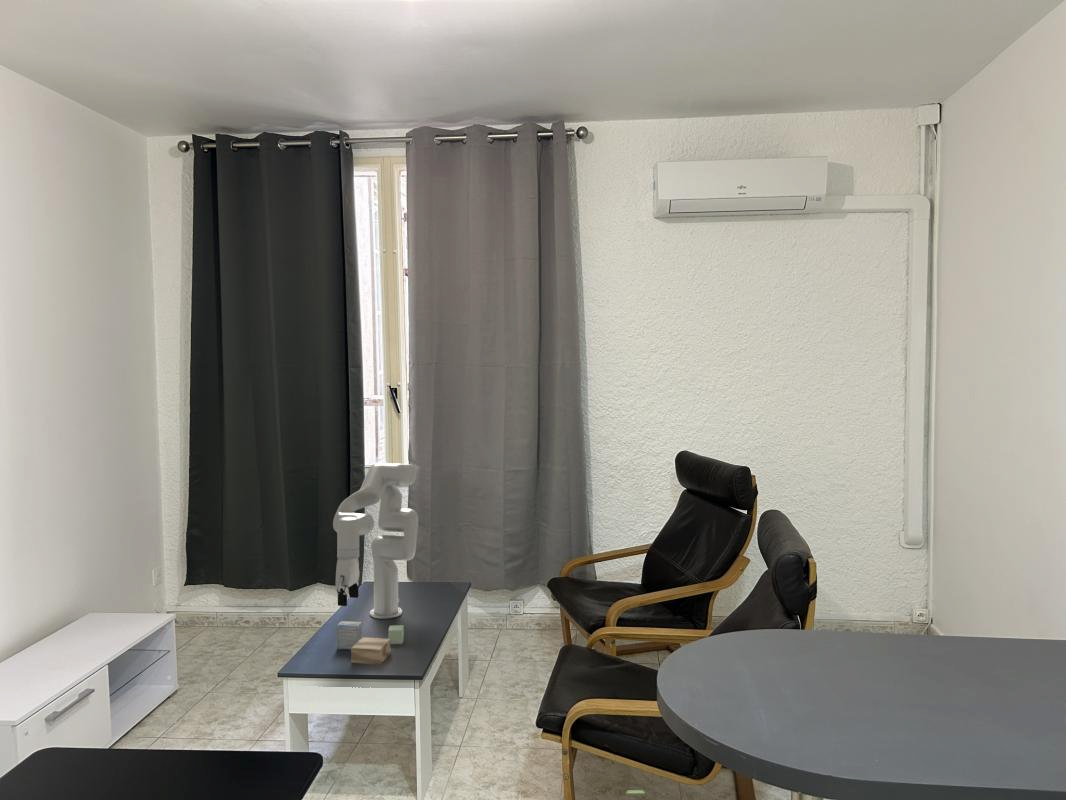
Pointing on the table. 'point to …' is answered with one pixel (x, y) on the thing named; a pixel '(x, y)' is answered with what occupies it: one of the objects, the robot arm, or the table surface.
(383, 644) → the oak block
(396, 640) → the green cube
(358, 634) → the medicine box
